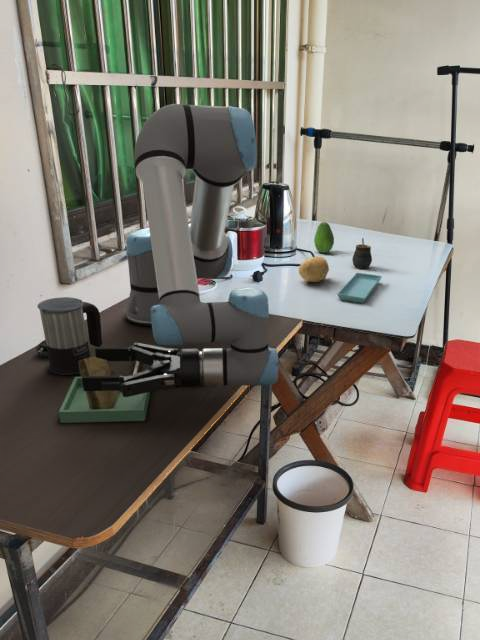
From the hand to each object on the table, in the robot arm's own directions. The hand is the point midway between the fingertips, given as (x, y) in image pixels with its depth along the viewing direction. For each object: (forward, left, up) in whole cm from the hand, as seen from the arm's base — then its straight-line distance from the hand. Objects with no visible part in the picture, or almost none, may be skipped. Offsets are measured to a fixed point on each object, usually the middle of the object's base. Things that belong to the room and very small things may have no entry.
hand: (89, 368), depth 115 cm
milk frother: (-21, -10, -8) cm, 25 cm away
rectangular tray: (-77, +72, -8) cm, 105 cm away
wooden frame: (-15, +14, -8) cm, 22 cm away
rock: (0, +3, -7) cm, 8 cm away
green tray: (0, +3, -8) cm, 8 cm away
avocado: (-128, +68, -8) cm, 145 cm away
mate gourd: (-107, +79, -8) cm, 133 cm away
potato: (-88, +58, -8) cm, 105 cm away
